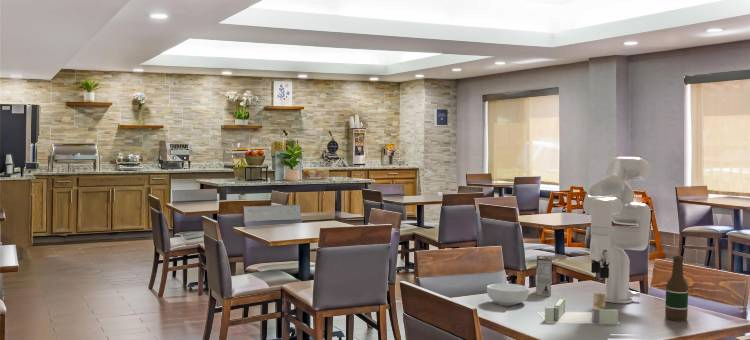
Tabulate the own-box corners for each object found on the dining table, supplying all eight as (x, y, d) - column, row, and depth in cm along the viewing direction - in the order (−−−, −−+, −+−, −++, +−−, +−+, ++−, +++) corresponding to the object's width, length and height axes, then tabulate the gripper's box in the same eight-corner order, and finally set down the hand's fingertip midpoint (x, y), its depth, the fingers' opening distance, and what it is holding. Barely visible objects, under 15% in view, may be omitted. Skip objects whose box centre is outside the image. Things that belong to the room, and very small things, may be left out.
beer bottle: (686, 317, 271) (688, 255, 270) (688, 322, 264) (690, 258, 263) (664, 315, 274) (666, 254, 273) (665, 320, 266) (667, 257, 265)
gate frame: (605, 313, 275) (605, 300, 275) (621, 325, 258) (621, 310, 258) (536, 313, 274) (536, 299, 274) (547, 324, 257) (547, 309, 257)
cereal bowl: (536, 304, 290) (536, 287, 290) (514, 310, 278) (514, 293, 278) (500, 297, 302) (501, 281, 301) (478, 303, 289) (478, 286, 289)
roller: (602, 313, 272) (603, 293, 272) (606, 316, 268) (607, 295, 268) (591, 313, 272) (591, 293, 272) (595, 316, 268) (595, 295, 268)
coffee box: (535, 291, 315) (536, 255, 315) (550, 291, 314) (551, 256, 313) (536, 295, 306) (537, 258, 306) (551, 296, 305) (552, 259, 304)
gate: (559, 319, 262) (559, 305, 262) (553, 318, 263) (554, 305, 262) (565, 311, 274) (565, 298, 274) (559, 310, 275) (560, 298, 275)
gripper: (584, 227, 277) (582, 270, 278) (599, 233, 260) (597, 279, 261) (602, 227, 278) (601, 271, 278) (619, 234, 260) (617, 280, 261)
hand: (599, 275), depth 270 cm, fingers open, 9 cm apart
